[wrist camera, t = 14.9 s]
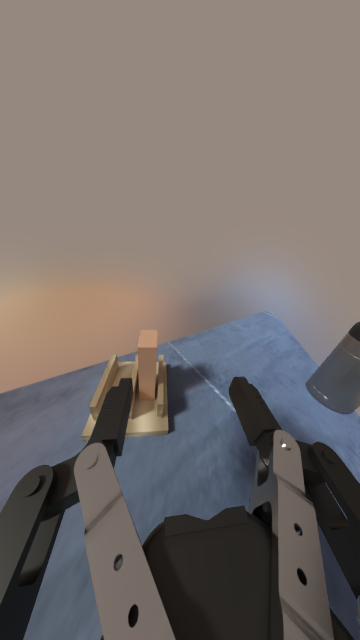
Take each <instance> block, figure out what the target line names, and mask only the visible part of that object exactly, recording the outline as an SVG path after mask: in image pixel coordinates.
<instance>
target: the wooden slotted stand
mask: <svg viewBox="0 0 360 640" xmlns="http://www.w3.org/2000/svg"><path fill="white" fill-rule="evenodd" d="M121 378H132V383H133V399H132V404H131V409H130V414H129V419H128V424H127V429H126V434H125V437H139V436H152V435H166V434H168V405H167V370H166V362H163V355H159V362H156V379H155V399H154V400H146V401H139V375H138V355H136V358H135V362H118V360H117V355H116V354H112V356H111V358H110V360H109V363H108V365H107V367H106V370H105V372H104V374H103V376H102V379H101V381H100V383H99V385H98V388H97V390H96V392H95V394H94V397H93V399H92V401H91V403H90V406H89V409H90V412H91V414H90V416H89V419H88V421H87V424H86V426H85V428H84V431H83V433H82V436H81V437H82V439H83V440H89V439H90V437H91V434H92V431H93V429H94V426H95V423H96V421H97V418H98V415H99V413H100V411H101V407H102V404H103V402H104V399H105V396H106V394H107V392H108V391H109V390H110V389H111V387H112V386H118V385H119V382H120V379H121Z"/></svg>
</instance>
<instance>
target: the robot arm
mask: <svg viewBox="0 0 360 640" xmlns="http://www.w3.org/2000/svg"><path fill="white" fill-rule="evenodd" d="M306 386H307V389H308V390H309V392H310V393H311V394H312V395H313V396H314V397H315V398H316V399H317V400H318V401H319V402H321V403H322V404H324V405H325V406H327V407H328V408H330V409H332V410H334V411H336V412H339V413H343V414H350V413H352V412H353V411H354V410H355V409H357V408H358V407H359V406H360V322H358V323H356V324H355V325H354V326H353V327H352V328H351V329H350V331H349V332H348V333H347V334H346V335H345V337H344V338H343V339H342V340H341V341H340V343H339V344H338V345H337V346H336V348H335V349H334V350H333V351H332V353H331V354H330V355H329V356H328V357H327V358H326V360H325V361H324V362H323V363H322V364H321V366H320V367H319V368H318V369H317V370H316V372H315V373H314V374H313V375H312V376H311V377H310V379H309V380H308V381H307V383H306ZM229 395H230V398H231V400H232V403H233V405H234V408H235V410H236V413H237V415H238V417H239V420H240V422H241V425H242V427H243V430H244V432H245V435H246V437H247V439H248V442H249V444H250V446H255V445H256V446H257V449H258V451H257V457H256V468H255V478H254V486H253V490H252V492H251V495H250V499H249V506H248V512H247V511H246V510H245V507H244V506H239V507H232V508H226V509H224V510H223V511H221V512H220V513H219V514H217V515H216V516H214V517H213V518H211V519H210V520H203V519H200V518H196V517H193V516H190V515H186V514H184V515H178V516H171V517H165V519H164V522H162V523H161V524H159V525H158V526H157V527H156V528H155V529H154V530H153V531H152V532H151V533H150V535H149V536H148V537H147V539H146V540H145V542H144V544H143V546H142V544H141V541H140V539H139V536H138V533H137V530H136V528H135V525H134V522H133V520H132V517H131V514H130V512H129V509H128V506H127V504H126V501H125V498H124V495H123V493H122V490H121V487H120V485H119V482H118V479H117V476H116V474H115V471H114V465H115V461H116V456H121V455H122V450H123V444H124V439H125V434H126V429H127V424H128V419H129V414H130V409H131V404H132V399H133V383H132V378H121V379H120V382H119V385H118V386H112V387H111V389H110V390H109V391H108V392H107V394H106V396H105V399H104V402H103V404H102V407H101V411H100V413H99V415H98V418H97V421H96V423H95V426H94V429H93V431H92V434H91V437H90V439H89V441H88V443H87V445H86V446H85V447H84V449H83V450H82V451H81V452H80V453H78V454H77V455H76V456H74V457H72V458H70V459H68V460H66V461H64V462H62V463H59V464H57V465H55V466H53V467H50V466H49V465H41V466H38V467H36V468H34V469H32V470H31V471H30V472H28V473H27V474H26V475H25V476H24V477H23V478H22V479H21V480H20V481H19V482H18V484H17V485H16V487H15V488H14V490H13V492H12V493H11V495H10V497H9V499H8V501H7V502H6V504H5V506H4V508H3V510H2V511H1V513H0V640H23V638H24V635H25V632H26V629H27V626H28V623H29V620H30V617H31V613H32V610H33V607H34V604H35V601H36V598H37V595H38V592H39V589H40V586H41V583H42V580H43V576H44V573H45V570H46V567H47V564H48V561H49V558H50V555H51V552H52V549H53V546H54V543H55V540H56V536H57V533H58V530H59V527H60V524H61V521H62V518H63V515H64V512H65V510H66V509H68V508H69V507H71V506H73V505H75V504H76V503H78V502H80V504H81V509H82V514H83V519H84V524H85V544H86V550H87V555H88V561H89V566H90V571H91V576H92V581H93V586H94V591H95V596H96V602H97V607H98V612H99V617H100V622H101V627H102V632H103V635H102V638H101V640H354V638H353V637H352V636H351V634H350V633H349V632H348V631H347V629H346V628H345V627H344V625H343V624H342V623H341V622H340V620H339V619H338V618H337V616H336V615H335V614H334V613H333V611H332V610H331V609H330V607H329V601H328V595H327V588H326V581H325V574H324V568H323V561H322V554H321V547H320V540H319V534H318V527H317V522H318V524H319V526H320V528H321V530H322V531H323V533H324V535H325V537H326V539H327V541H328V543H329V545H330V547H331V549H332V551H333V553H334V555H335V557H336V559H337V561H338V563H339V565H340V567H341V569H342V571H343V573H344V575H345V577H346V579H347V581H348V583H349V585H350V587H351V589H352V591H353V593H354V595H355V597H356V599H357V608H358V613H357V621H358V624H359V627H360V484H359V483H358V481H357V480H356V479H355V477H354V476H353V475H352V473H351V472H350V471H349V469H348V468H347V467H346V465H345V464H344V463H343V461H342V460H341V459H340V457H339V456H338V455H337V454H336V453H335V452H334V451H333V450H332V449H331V448H330V447H328V446H327V445H325V444H323V443H321V442H315V443H314V444H313V445H309V444H306V443H303V442H300V441H297V440H295V439H294V438H293V437H292V436H291V435H290V434H288V433H287V432H285V431H283V430H282V429H281V427H280V426H279V424H278V423H277V421H276V419H275V418H274V416H273V414H272V413H271V411H270V410H269V408H268V406H267V405H266V404H265V401H264V400H263V398H262V396H261V395H260V393H259V391H258V390H257V389H256V388H255V387H254V386H253V385H252V384H249V383H248V381H247V379H246V378H245V377H234V378H233V380H232V383H231V385H230V387H229ZM325 482H326V484H327V485H328V487H329V489H330V490H331V492H332V494H333V495H334V497H335V498H336V500H337V502H338V503H339V505H340V506H341V508H342V510H343V511H344V513H345V515H346V517H347V519H348V520H347V519H346V517H345V516H344V514H343V512H342V511H341V509H340V508H339V506H338V504H337V503H336V501H335V499H334V498H333V496H332V495H331V493H330V491H329V490H328V488H327V486H326V485H325Z"/></svg>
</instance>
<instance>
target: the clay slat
mask: <svg viewBox="0 0 360 640" xmlns="http://www.w3.org/2000/svg"><path fill="white" fill-rule="evenodd" d="M137 348H138V375H139V401H146V400H154V399H155V379H156V358H157V330H141V333H140V337H139V342H138V347H137Z"/></svg>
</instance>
